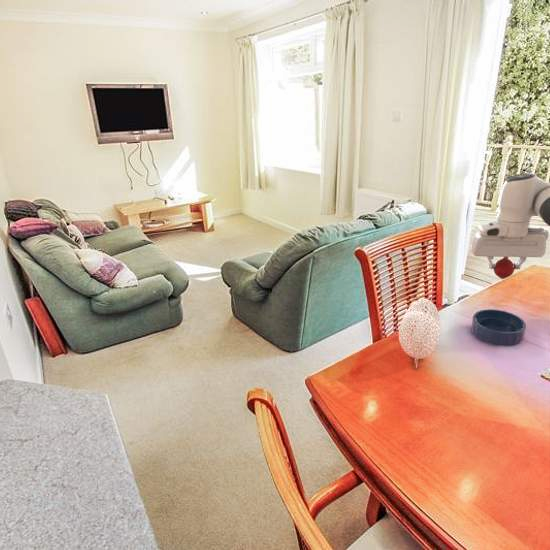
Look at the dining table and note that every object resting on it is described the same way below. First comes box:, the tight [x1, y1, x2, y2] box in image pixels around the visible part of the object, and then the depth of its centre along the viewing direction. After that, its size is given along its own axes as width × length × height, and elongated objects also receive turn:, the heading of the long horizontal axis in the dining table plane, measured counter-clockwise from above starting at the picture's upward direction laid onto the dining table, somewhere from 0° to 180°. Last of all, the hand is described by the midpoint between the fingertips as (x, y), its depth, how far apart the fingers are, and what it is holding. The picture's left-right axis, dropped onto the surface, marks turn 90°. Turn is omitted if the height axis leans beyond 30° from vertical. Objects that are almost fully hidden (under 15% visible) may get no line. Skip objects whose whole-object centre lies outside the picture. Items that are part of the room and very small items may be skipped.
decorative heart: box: [398, 298, 441, 369], centre depth 107 cm, size 18×11×17 cm, turn 150°
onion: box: [493, 257, 516, 280], centre depth 122 cm, size 6×6×8 cm
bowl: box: [470, 308, 527, 347], centre depth 117 cm, size 14×14×5 cm
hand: (503, 268), depth 122 cm, fingers closed on onion, 6 cm apart
